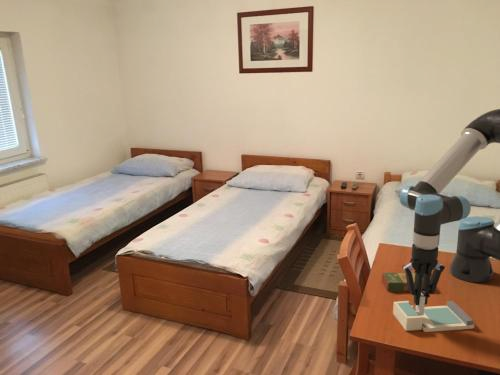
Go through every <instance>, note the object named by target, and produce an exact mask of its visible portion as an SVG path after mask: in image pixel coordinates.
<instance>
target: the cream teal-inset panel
mask: <svg viewBox="0 0 500 375" xmlns="http://www.w3.org/2000/svg"><path fill="white" fill-rule="evenodd" d="M414 308H415V309H416V307H414ZM421 316H422V329H421V331H423V332H424V333H431V332H444V331H456V330H457V331H458V330H468V329H469V330H470V329H472V330H473V329H474V328H475V324H474V319H472V318H471V317H470V316H469V315H468V314H467V313H466V312H465V311H464V310H463V309H462V308H461V307H460V306H459V305H458V304H457V303H456V302H455V301H453V300H448V301H446V305H437V306H436V305H434V306H433V305H432V306H425V307H424V315H421Z"/></svg>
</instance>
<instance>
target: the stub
mask: <svg viewBox="0 0 500 375" xmlns="http://www.w3.org/2000/svg"><path fill="white" fill-rule="evenodd" d="M392 308H393V309H392V314H393V316H394V317H395V318H396V320H397V321H398V322H399V324H400V325H401V326H402V327H403V329H404V331H405V332H410V331H422V316H421V315H420V314H419V313H418V311H417V310H416V309H415V308H416V307H414V305H413V304H412V303H411V302H410V301H409V300H402V301H401V300H399V301H393V307H392Z"/></svg>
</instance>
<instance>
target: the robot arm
mask: <svg viewBox="0 0 500 375" xmlns="http://www.w3.org/2000/svg"><path fill="white" fill-rule="evenodd" d="M494 143H496V144H500V108H498V109H493V110H492V109H491V110H489V111H487V112H485V113H483V114H481V115H480V116H478V117H476V118H475V119H473V120H472V121H471V122H469V123H468V124H467V125H466V126H465V127H464V128H463V130H462V131H461V132H460V137H459V138H458V139H457V141H455V143H454V144H453V145H452V146H451V147H450V148H448V150H447V151H446V152H445V153H444V155H443V156H441V158H440V159H439V160H438V161H437V162H436V163H435V164H434V165H433V166H432V167H431V168H430V170H428V171H427V173H426V174H424V176H423V177H422V178H421V179H420V180H419V181H418V182H417V183H416V185H415V186H414V185H407V186H405V187H403V188H402V189H401V190H400V192H399V202H400V205H402V206H403V207H405V208H407V209H409V210H411V211H414V219H413V220H414V224H413V231H412V243H413V244H412V245H411V258H410V260H409V263H407V264H404V265H402V266H401V268H402V269H403V271H404V272H405V274H406V279H407V285H408V290H409V291H408V292H409V293H410V294H411V295H412V296H413V304H415V308H416V310H417V311H418V313H419V314H420V315H424V307H426V305H427V304H428V299H429V298H430V297H431V295H434V294H435V292H436V290H437V287H438V283H439V280H440V277H441V276H442V275H441V274H442V273H443V271H444V270H445V268H446V266H444V265H443V263H441V262H439V260H438V256H439V246H440V236H441V235H440V234H441V225H444V224H449V223H454V222H459V224H458V225H459V226H458V229H457V230H458V233H457V243H456V253H455V255H454V257H453V259H452V261H451V262H450V265H449V273H450V274H451V276H453V277H455V278H457V279H459V280H461V281H466V282H470V283H486V282H490V281H491V280H492V279H493V277H494V276H493V275H494V270H493V266H492V262H491V258H492V259H495V260H497V261H500V216H499V218H498V221H496V222H495V220H494V219H493V218H492V217H489V216H488V217H487V216H479V215H478V216H476V215H475V216H474V215H473V216H469V215H470V214H471V207H472V206H471V203H470V201H469V200H468V199H467V198H466V197H465V196H463V195H453V196H447V195H444V194H441V192H443V190H444V189H445V188H446V187H447V186H448V185H449V184H450V183H451V182H452V180H453V179H454V178H455V177H456V176H457V175H458V174H459V173H460V172H461V170H462V169H464V167H465V166H466V165H467V164H468V163H469V162H470V161H471V160H472V158H474V156H476V154H478V152H479V151H480V150H484V149H485V148H487V147H488V146H489V145H490V144H494ZM413 270H414V272H415V283H414V282H413V276H412V273H411V272H413ZM422 278H423V280H422ZM421 288H422V291H421Z"/></svg>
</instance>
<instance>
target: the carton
mask: <svg viewBox="0 0 500 375" xmlns="http://www.w3.org/2000/svg"><path fill="white" fill-rule="evenodd" d="M411 273H412V276H413V282H414V283H415V271H412V272H411ZM422 280H423V278H422ZM381 283H382V284H383V287H384V288H385V290H386V291H387V292H389V293H391V292H394V293H395V292H396V293H397V292H409V290H408V285H407V279H406V274H405V271H404V272H382V274H381ZM421 292H422V288H421Z"/></svg>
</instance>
